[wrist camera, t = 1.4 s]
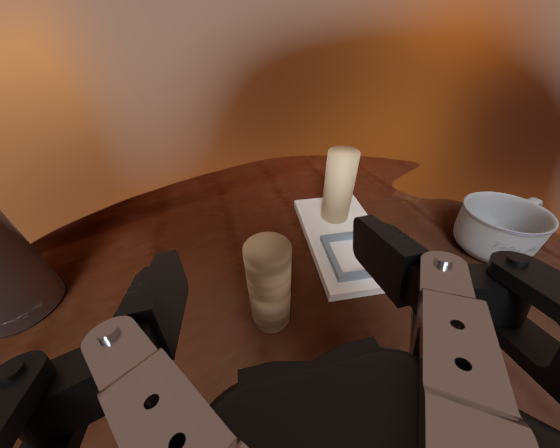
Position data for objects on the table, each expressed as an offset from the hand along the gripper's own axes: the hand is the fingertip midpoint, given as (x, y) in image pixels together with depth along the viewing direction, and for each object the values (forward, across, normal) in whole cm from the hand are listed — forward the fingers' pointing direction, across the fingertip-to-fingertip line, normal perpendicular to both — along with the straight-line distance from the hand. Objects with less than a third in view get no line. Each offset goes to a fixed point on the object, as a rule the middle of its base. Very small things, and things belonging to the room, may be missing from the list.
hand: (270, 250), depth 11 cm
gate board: (+25, -14, +16) cm, 33 cm away
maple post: (+14, 0, +18) cm, 23 cm away
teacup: (+19, -37, +19) cm, 46 cm away
